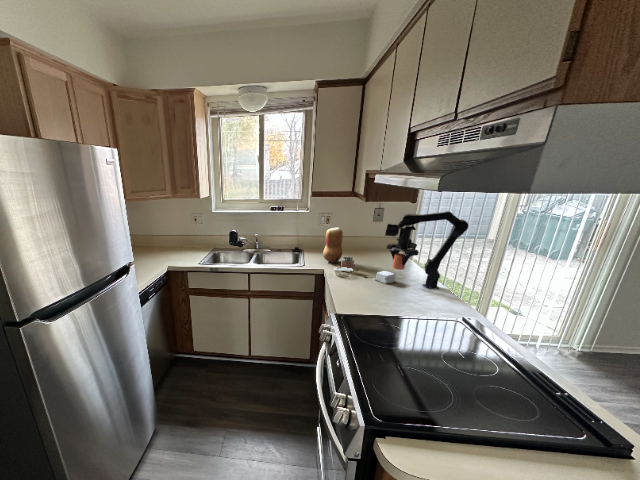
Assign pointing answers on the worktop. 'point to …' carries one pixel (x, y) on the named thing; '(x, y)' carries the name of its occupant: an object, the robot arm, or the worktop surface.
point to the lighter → (348, 262)
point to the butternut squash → (333, 245)
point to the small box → (385, 277)
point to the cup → (398, 262)
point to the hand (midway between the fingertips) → (399, 263)
